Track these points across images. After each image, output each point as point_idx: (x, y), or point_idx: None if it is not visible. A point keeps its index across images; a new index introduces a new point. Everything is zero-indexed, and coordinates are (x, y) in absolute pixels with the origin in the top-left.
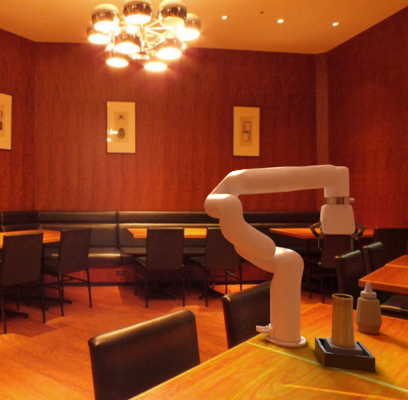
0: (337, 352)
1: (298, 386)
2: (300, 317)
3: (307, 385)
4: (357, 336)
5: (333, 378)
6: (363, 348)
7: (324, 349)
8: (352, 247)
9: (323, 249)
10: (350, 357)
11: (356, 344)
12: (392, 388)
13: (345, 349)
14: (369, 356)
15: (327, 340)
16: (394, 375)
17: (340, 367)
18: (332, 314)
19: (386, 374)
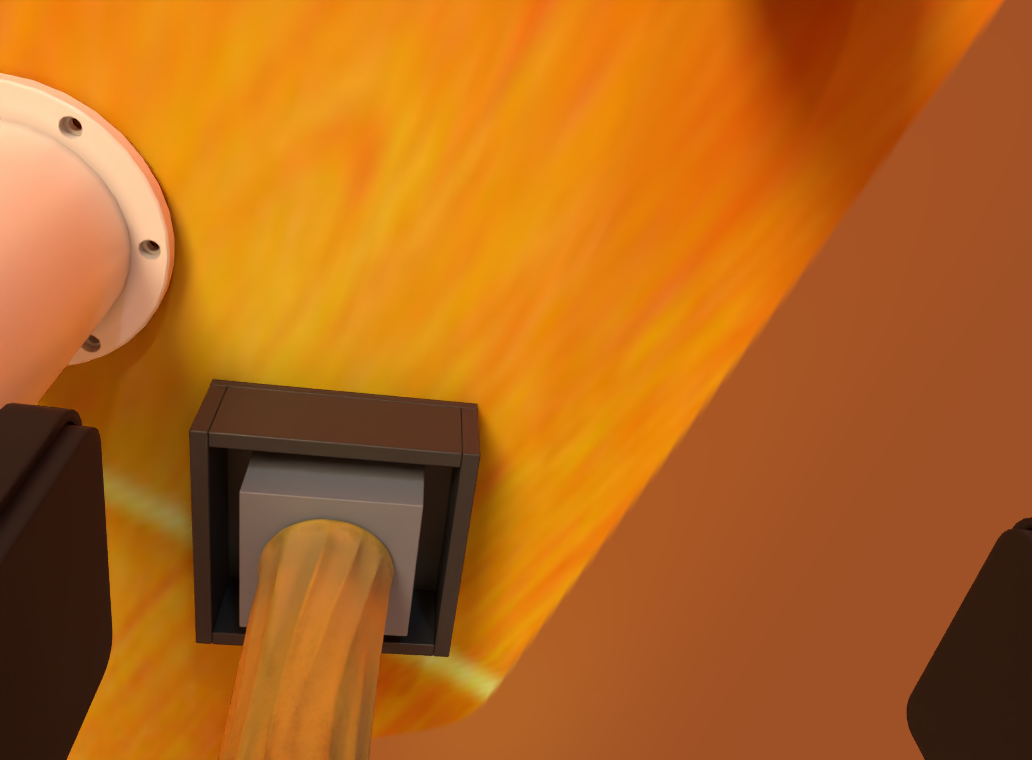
0: None
1: None
2: (56, 369)
3: (105, 728)
4: (645, 20)
5: (233, 660)
6: (449, 548)
7: (207, 605)
8: (985, 737)
9: (85, 672)
10: None
11: (407, 568)
12: (456, 691)
13: None
14: (437, 621)
15: (244, 538)
16: (533, 590)
17: None
18: (228, 717)
19: (501, 587)
